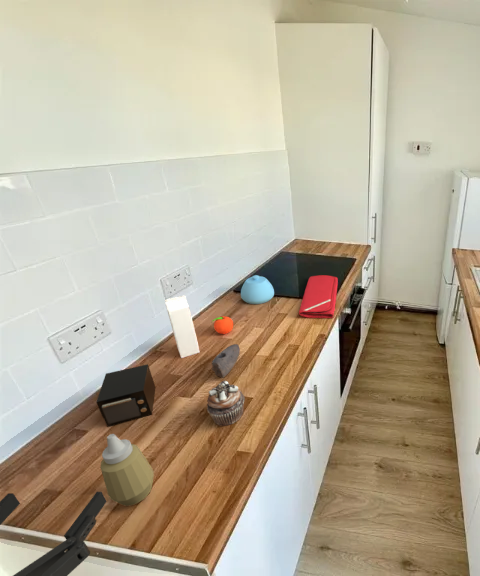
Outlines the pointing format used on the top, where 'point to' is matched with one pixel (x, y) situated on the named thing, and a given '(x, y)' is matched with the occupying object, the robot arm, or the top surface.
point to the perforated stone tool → (225, 360)
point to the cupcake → (225, 404)
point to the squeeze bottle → (125, 472)
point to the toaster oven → (126, 395)
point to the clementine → (223, 324)
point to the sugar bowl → (257, 290)
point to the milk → (182, 326)
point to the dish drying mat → (319, 297)
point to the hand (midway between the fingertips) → (58, 497)
